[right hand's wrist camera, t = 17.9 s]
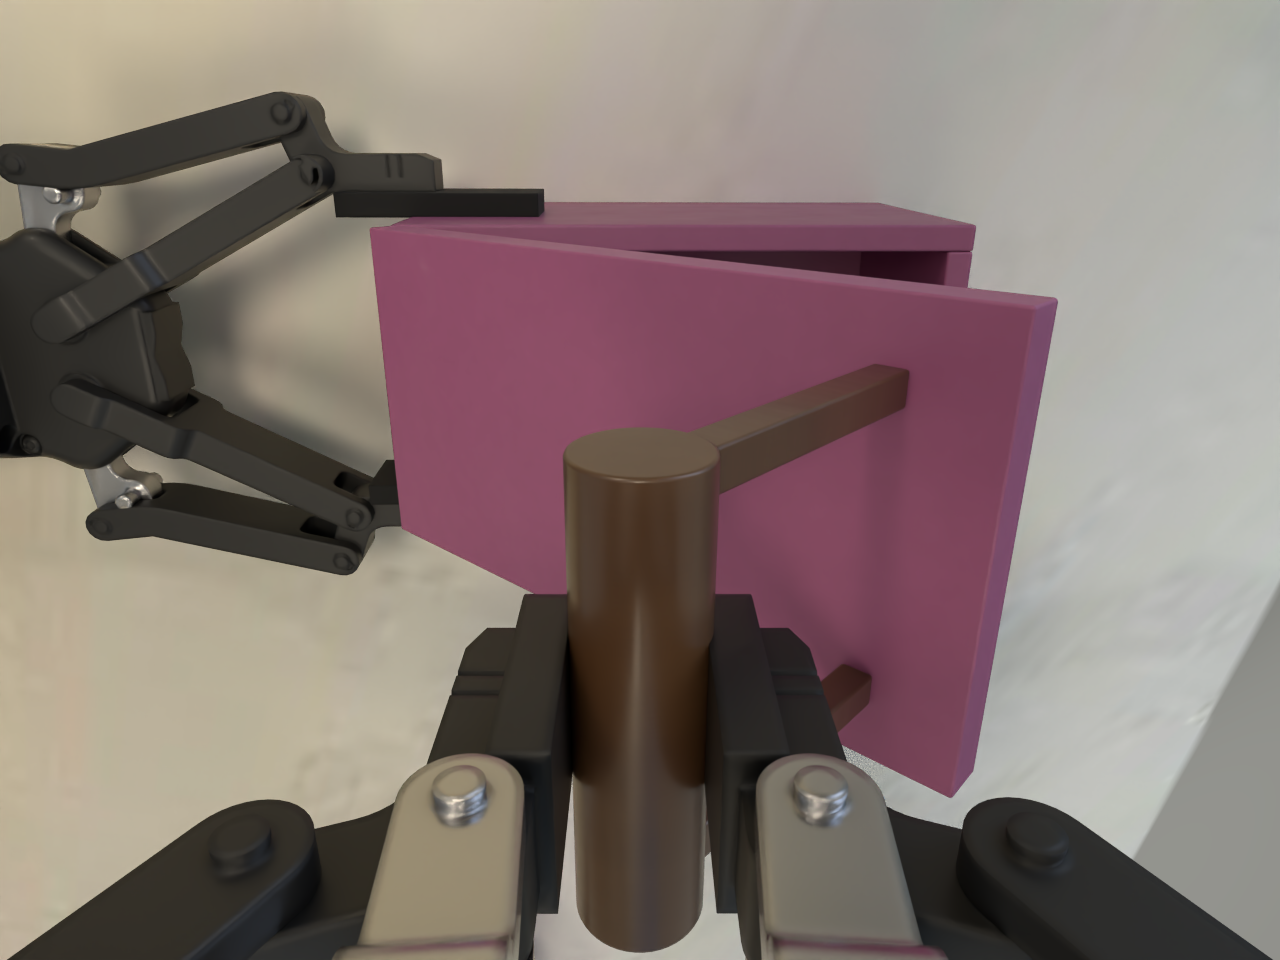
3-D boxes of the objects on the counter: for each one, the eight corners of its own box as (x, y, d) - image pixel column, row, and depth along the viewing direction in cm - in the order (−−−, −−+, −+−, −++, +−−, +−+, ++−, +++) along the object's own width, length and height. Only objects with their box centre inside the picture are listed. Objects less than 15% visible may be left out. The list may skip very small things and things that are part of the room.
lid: (1059, 297, 14) (753, 412, 8) (973, 772, 17) (716, 1099, 11) (401, 225, 25) (74, 249, 19) (428, 518, 28) (158, 616, 23)
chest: (879, 202, 35) (977, 225, 26) (857, 421, 39) (937, 511, 29) (449, 201, 35) (389, 224, 25) (465, 424, 38) (418, 516, 29)
